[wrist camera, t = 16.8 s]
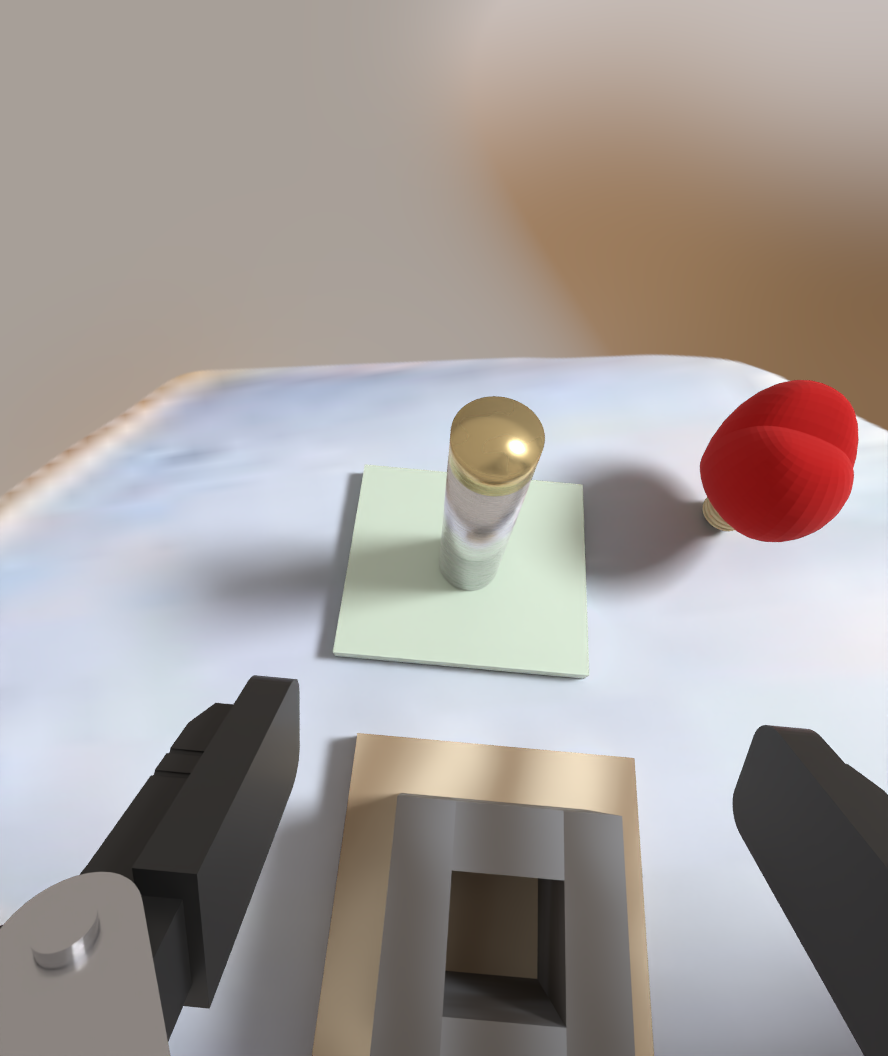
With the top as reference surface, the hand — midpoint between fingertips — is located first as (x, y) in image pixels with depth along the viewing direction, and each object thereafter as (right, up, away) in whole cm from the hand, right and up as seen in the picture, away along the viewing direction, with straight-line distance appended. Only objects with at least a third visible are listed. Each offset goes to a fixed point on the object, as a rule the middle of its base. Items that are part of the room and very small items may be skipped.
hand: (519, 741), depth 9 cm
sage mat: (0, +1, +23) cm, 23 cm away
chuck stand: (+1, -14, +16) cm, 21 cm away
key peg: (0, +2, +22) cm, 22 cm away
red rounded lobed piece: (+16, +4, +26) cm, 31 cm away
